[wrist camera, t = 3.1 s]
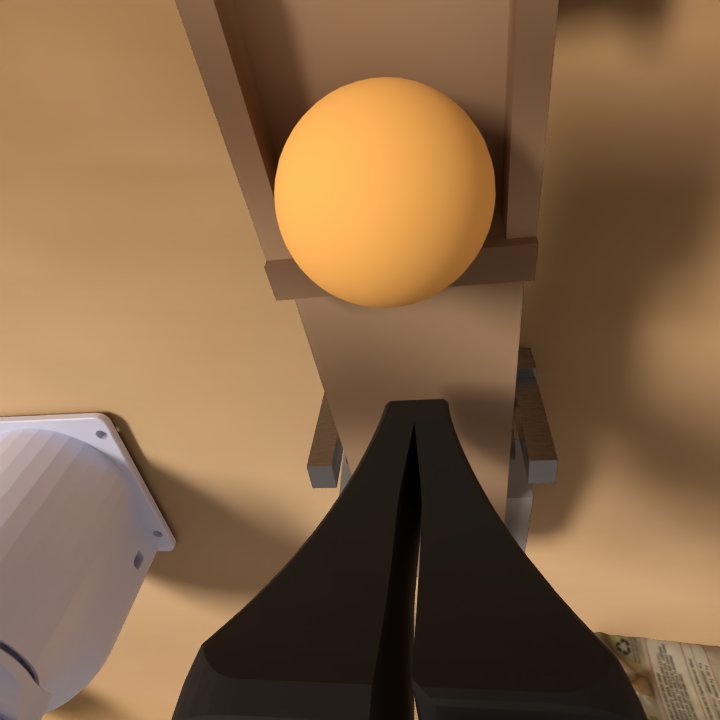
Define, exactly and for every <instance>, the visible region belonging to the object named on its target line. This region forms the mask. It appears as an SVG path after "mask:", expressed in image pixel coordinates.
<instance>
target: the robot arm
mask: <svg viewBox="0 0 720 720" xmlns="http://www.w3.org/2000/svg"><path fill="white" fill-rule="evenodd" d="M420 536H421V539H420ZM175 544H176V540H175V538H174V536H173V535H172V533H171V531H170V529H169V527H168V525H167V523H166V522H165V520H164V518H163V516H162V514H161V512H160V510H159V509H158V507H157V505H156V503H155V501H154V499H153V497H152V496H151V494H150V492H149V490H148V488H147V486H146V484H145V483H144V481H143V479H142V477H141V475H140V473H139V471H138V470H137V468H136V466H135V464H134V462H133V460H132V458H131V457H130V455H129V453H128V451H127V449H126V447H125V445H124V444H123V442H122V440H121V438H120V436H119V434H118V432H117V431H116V429H115V427H114V425H113V423H112V421H111V420H110V419H109V417H107V416H106V415H104V414H102V413H82V414H60V415H38V416H16V417H0V720H41V719H42V717H43V715H44V714H45V713H47V712H50V711H52V710H54V709H56V708H58V707H60V706H62V705H64V704H65V703H67V702H68V701H69V700H71V699H72V698H73V697H74V696H76V695H77V694H78V693H79V692H80V691H81V690H82V689H83V688H84V687H85V686H86V685H87V684H88V683H89V682H90V681H91V680H92V679H93V678H94V677H95V675H96V674H97V673H98V672H99V671H100V669H101V668H102V666H103V665H104V663H105V662H106V660H107V658H108V656H109V654H110V652H111V651H112V648H113V646H114V644H115V642H116V640H117V637H118V635H119V633H120V631H121V629H122V627H123V624H124V622H125V620H126V618H127V616H128V614H129V611H130V609H131V607H132V605H133V603H134V601H135V598H136V596H137V594H138V592H139V590H140V587H141V585H142V583H143V581H144V579H145V577H146V574H147V572H148V570H149V568H150V566H151V564H152V561H153V559H154V557H155V555H156V553H157V551H171V550H173V549H174V546H175ZM419 547H420V560H419V579H418V596H417V612H416V626H415V639H414V604H415V589H416V578H417V568H418V557H419ZM414 697H415V702H416V708H417V713H418V719H419V720H648V718H647V716H646V713H645V711H644V709H643V706H642V704H641V702H640V700H639V697H638V695H637V693H636V691H635V690H634V688H633V686H632V684H631V682H630V680H629V678H628V676H627V674H626V672H625V671H624V669H623V667H622V665H621V663H620V662H619V660H618V658H617V657H616V655H615V654H614V653H613V652H612V651H611V650H610V649H609V648H608V647H607V646H606V645H605V644H604V643H603V642H602V641H601V640H600V639H599V638H598V637H597V636H596V635H595V634H594V633H593V632H592V631H591V630H590V629H589V628H588V627H587V626H586V625H585V624H584V623H583V621H582V620H581V619H580V618H579V617H578V616H577V615H576V614H575V613H574V612H573V611H572V609H571V608H570V607H569V606H568V605H567V604H566V603H565V602H564V600H563V599H562V598H561V597H560V596H559V595H558V594H557V593H556V591H555V590H554V589H553V588H552V587H551V585H550V584H549V583H548V582H547V580H546V579H545V578H544V577H543V575H542V574H541V573H540V572H539V570H538V569H537V568H536V567H535V565H534V564H533V563H532V562H531V560H530V559H529V558H528V557H527V555H526V554H525V553H524V551H523V550H522V549H521V547H520V546H519V545H518V543H517V542H516V540H515V539H514V538H513V536H512V535H511V533H510V532H509V530H508V529H507V527H506V526H505V524H504V523H503V521H502V520H501V518H500V517H499V515H498V514H497V512H496V511H495V509H494V507H493V506H492V504H491V502H490V501H489V499H488V497H487V496H486V494H485V492H484V490H483V488H482V487H481V485H480V483H479V481H478V479H477V478H476V476H475V474H474V472H473V470H472V468H471V466H470V463H469V461H468V459H467V457H466V455H465V453H464V451H463V449H462V446H461V444H460V441H459V439H458V436H457V434H456V431H455V428H454V425H453V422H452V418H451V415H450V410H449V403H448V402H447V401H446V400H445V399H424V400H400V401H389V402H388V403H387V404H386V405H385V408H384V411H383V414H382V416H381V419H380V421H379V424H378V426H377V428H376V431H375V433H374V435H373V437H372V439H371V441H370V443H369V445H368V447H367V449H366V451H365V453H364V455H363V457H362V459H361V460H360V462H359V464H358V466H357V468H356V470H355V471H354V473H353V475H352V476H351V478H350V480H349V481H348V483H347V484H346V486H345V488H344V489H343V491H342V492H341V494H340V496H339V497H338V499H337V500H336V502H335V503H334V505H333V506H332V508H331V509H330V511H329V512H328V513H327V515H326V516H325V518H324V519H323V520H322V522H321V523H320V524H319V526H318V527H317V528H316V530H315V531H314V532H313V533H312V535H311V536H310V537H309V538H308V540H307V541H306V542H305V543H304V544H303V546H302V547H301V548H300V549H299V550H298V552H297V553H296V554H295V555H294V556H293V557H292V559H291V560H290V561H289V562H288V563H287V564H286V565H285V566H284V568H283V569H282V570H281V571H280V572H279V573H278V574H277V575H276V576H275V577H274V578H273V579H272V580H271V581H270V582H269V583H268V584H267V585H266V586H265V587H264V588H263V589H262V590H261V591H260V592H259V593H258V594H257V595H256V596H255V597H254V598H253V599H252V600H251V601H250V602H249V603H248V604H247V605H246V606H245V607H244V608H243V609H242V610H241V611H240V612H238V613H237V614H236V615H235V616H234V617H233V618H232V619H230V620H229V621H228V622H227V623H226V624H225V625H224V626H222V627H221V628H220V629H219V630H218V631H217V632H216V633H215V634H213V635H212V636H211V637H210V638H209V639H208V640H206V641H205V642H204V643H203V644H202V645H201V647H200V650H199V652H198V654H197V656H196V658H195V660H194V662H193V664H192V666H191V669H190V671H189V673H188V675H187V677H186V679H185V682H184V684H183V687H182V690H181V693H180V696H179V699H178V702H177V705H176V708H175V711H174V714H173V717H172V720H414Z"/></svg>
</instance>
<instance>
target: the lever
mask: <svg viewBox="0 0 720 720" xmlns="http://www.w3.org/2000/svg"><path fill="white" fill-rule="evenodd" d="M175 2H176V5H177V8H178V10H179V13H180V16H181V19H182V22H183V25H184V28H185V30H186V33H187V36H188V39H189V42H190V45H191V47H192V50H193V53H194V56H195V59H196V62H197V65H198V67H199V70H200V73H201V76H202V79H203V82H204V84H205V87H206V90H207V93H208V96H209V99H210V102H211V104H212V107H213V110H214V113H215V116H216V119H217V121H218V124H219V127H220V130H221V133H222V136H223V139H224V141H225V144H226V147H227V150H228V153H229V156H230V158H231V161H232V164H233V167H234V170H235V173H236V176H237V178H238V181H239V184H240V187H241V190H242V193H243V195H244V198H245V201H246V204H247V207H248V210H249V213H250V215H251V218H252V221H253V224H254V227H255V230H256V233H257V235H258V238H259V241H260V244H261V247H262V250H263V252H264V255H265V258H266V264H265V267H264V268H265V271H266V273H267V276H268V279H269V282H270V284H271V287H272V290H273V293H274V296H275V298H276V301H277V300H289V299H295V302H296V305H297V308H298V311H299V314H300V317H301V320H302V323H303V326H304V329H305V333H306V336H307V339H308V342H309V345H310V348H311V351H312V354H313V357H314V360H315V363H316V366H317V369H318V373H319V376H320V379H321V382H322V385H323V388H324V391H325V394H326V397H327V400H328V403H329V406H330V409H331V413H332V416H333V419H334V422H335V425H336V428H337V431H338V434H339V437H340V440H341V443H342V446H343V449H344V455H343V465H342V475H341V485H340V494H341V492H342V491H343V489H344V488H345V486H346V484H347V483H348V481H349V480H350V478H351V476H352V475H353V473H354V471H355V470H356V468H357V466H358V464H359V462H360V460H361V459H362V457H363V455H364V453H365V451H366V449H367V447H368V445H369V443H370V441H371V439H372V437H373V435H374V433H375V431H376V428H377V426H378V424H379V421H380V419H381V416H382V414H383V411H384V408H385V405H386V404H387V403H388V402H389V401H400V400H424V399H445V400H446V401H447V402H448V403H449V410H450V415H451V418H452V422H453V425H454V428H455V431H456V434H457V436H458V439H459V441H460V444H461V446H462V449H463V451H464V453H465V455H466V457H467V459H468V461H469V463H470V466H471V468H472V470H473V472H474V474H475V476H476V478H477V479H478V481H479V483H480V485H481V487H482V488H483V490H484V492H485V494H486V496H487V497H488V499H489V501H490V502H491V504H492V506H493V507H494V509H495V511H496V512H497V514H498V515H499V517H500V518H501V520H502V521H503V523H504V524H505V526H506V527H507V529H508V530H509V532H510V533H511V535H512V536H513V538H514V539H515V540H516V542H517V543H518V545H519V546H520V547H521V549H522V550H523V551H524V553H525V548H526V542H527V535H528V529H529V522H530V516H531V509H532V503H533V493H532V487H531V484H528V480H527V475H526V470H525V465H524V460H523V455H522V450H521V445H520V440H519V439H515V438H514V432H513V429H512V424H513V412H514V399H515V387H516V374H517V362H518V350H519V337H520V325H521V312H522V300H523V288H524V281H533V280H535V272H536V262H537V252H538V240H537V226H538V215H539V205H540V194H541V184H542V173H543V162H544V152H545V141H546V131H547V120H548V110H549V99H550V89H551V78H552V68H553V57H554V46H555V36H556V25H557V15H558V4H559V0H175ZM379 77H394V78H403V79H408V80H413V81H416V82H419V83H422V84H425V85H428V86H430V87H432V88H434V89H436V90H437V91H439V92H441V93H443V94H445V95H446V96H447V97H449V98H450V99H452V100H453V101H454V102H456V103H457V104H458V105H459V106H460V107H461V108H462V109H463V110H464V111H465V112H466V113H467V115H468V116H469V117H470V119H471V120H472V121H473V123H474V124H475V125H476V127H477V128H478V130H479V131H480V133H481V135H482V137H483V139H484V141H485V143H486V146H487V149H488V151H489V154H490V157H491V160H492V164H493V169H494V174H495V193H496V197H495V206H494V213H493V218H492V222H491V226H490V229H489V232H488V234H487V236H486V239H485V241H484V243H483V246H482V248H481V249H480V251H479V253H478V254H477V256H476V258H475V259H474V260H473V262H472V263H471V264H470V265H469V267H468V268H467V269H466V270H465V272H464V273H463V274H462V275H461V276H460V277H459V278H458V279H457V280H456V281H454V282H453V283H452V284H450V285H449V286H448V287H447V288H445V289H444V290H442V291H441V292H439V293H437V294H436V295H434V296H432V297H430V298H428V299H425V300H423V301H420V302H417V303H414V304H410V305H406V306H401V307H393V308H373V307H366V306H361V305H357V304H353V303H350V302H347V301H345V300H342V299H340V298H337V297H336V296H334V295H332V294H330V293H328V292H327V291H325V290H324V289H322V288H321V287H319V286H318V285H317V284H316V283H315V282H313V281H312V280H311V279H310V278H309V277H308V276H307V275H306V274H305V273H304V272H303V271H302V270H301V268H300V267H299V266H298V264H297V263H296V262H295V260H294V259H293V257H292V255H291V254H290V252H289V250H288V248H287V247H286V245H285V242H284V240H283V237H282V235H281V232H280V229H279V225H278V221H277V217H276V211H275V199H274V189H275V178H276V172H277V168H278V163H279V159H280V156H281V153H282V151H283V148H284V146H285V143H286V141H287V139H288V138H289V136H290V134H291V132H292V130H293V129H294V127H295V126H296V124H297V123H298V122H299V121H300V119H301V118H302V117H303V116H304V115H305V113H306V112H307V111H308V110H309V109H310V108H312V107H313V106H314V105H315V104H316V103H317V102H318V101H319V100H321V99H322V98H323V97H325V96H326V95H328V94H329V93H331V92H333V91H335V90H337V89H338V88H340V87H343V86H345V85H348V84H351V83H354V82H356V81H360V80H365V79H370V78H379ZM339 496H340V495H339ZM420 539H421V536H420ZM419 560H420V547H419V557H418V568H417V577H419Z"/></svg>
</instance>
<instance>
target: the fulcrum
mask: <svg viewBox="0 0 720 720" xmlns="http://www.w3.org/2000/svg"><path fill="white" fill-rule="evenodd" d="M535 376H536V366H535V363H534V359H533V355H532V352H531V349H519V350H518V362H517V374H516V387H515V399H514V415H515V420H516V425H517V430H518V435H519V440H520V445H521V450H522V455H523V460H524V465H525V470H526V475H527V480H528V484H543V483H556V473H557V463H558V459H557V455H556V452H555V448H554V444H553V440H552V437H551V433H550V429H549V426H548V422H547V418H546V414H545V411H544V407H543V403H542V400H541V396H540V392H539V388H538V385H537V381H536V377H535ZM342 454H343V446H342V443H341V440H340V437H339V434H338V431H337V428H336V425H335V422H334V419H333V416H332V413H331V409H330V406H329V403H328V400H327V397H326V394H325V392H324V396H323V401H322V405H321V409H320V413H319V417H318V422H317V426H316V430H315V434H314V438H313V443H312V447H311V451H310V455H309V459H308V464H307V469H308V473H309V477H310V480H311V484H312V487H313V488H337V483H338V477H339V471H340V465H341V460H342Z"/></svg>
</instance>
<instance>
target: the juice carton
mask: <svg viewBox="0 0 720 720" xmlns="http://www.w3.org/2000/svg"><path fill="white" fill-rule="evenodd" d="M594 634H595V635H596V636H597V637H598V638H599V639H600V640H601V641H602V642H603V643H604V644H605V645H606V646H607V647H608V648H609V649H610V650H611V651H612V652H613V653H614V654H615V655H616V657H617V658H618V660H619V662H620V663H621V665H622V667H623V669H624V671H625V672H626V674H627V676H628V678H629V680H630V682H631V684H632V686H633V688H634V690H635V691H636V693H637V695H638V697H639V700H640V702H641V704H642V706H643V709H644V711H645V713H646V716H647V718H648V720H720V646H706V645H699V644H689V643H681V642H674V641H662V640H655V639H649V638H641V637H624V636H620V635H607V634H605V633H602V632H597V633H594Z"/></svg>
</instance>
